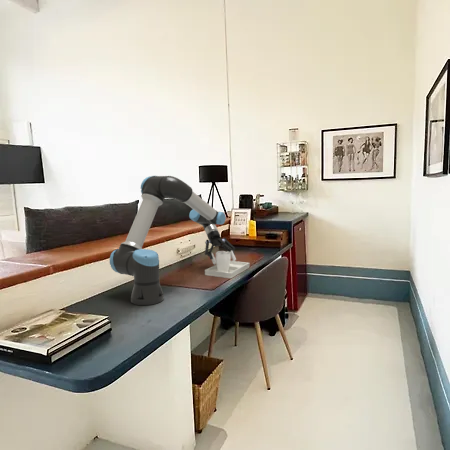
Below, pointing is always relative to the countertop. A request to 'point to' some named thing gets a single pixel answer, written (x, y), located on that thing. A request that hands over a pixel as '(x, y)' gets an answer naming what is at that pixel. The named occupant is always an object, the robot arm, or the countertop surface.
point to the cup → (223, 261)
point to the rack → (233, 270)
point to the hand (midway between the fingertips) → (225, 262)
